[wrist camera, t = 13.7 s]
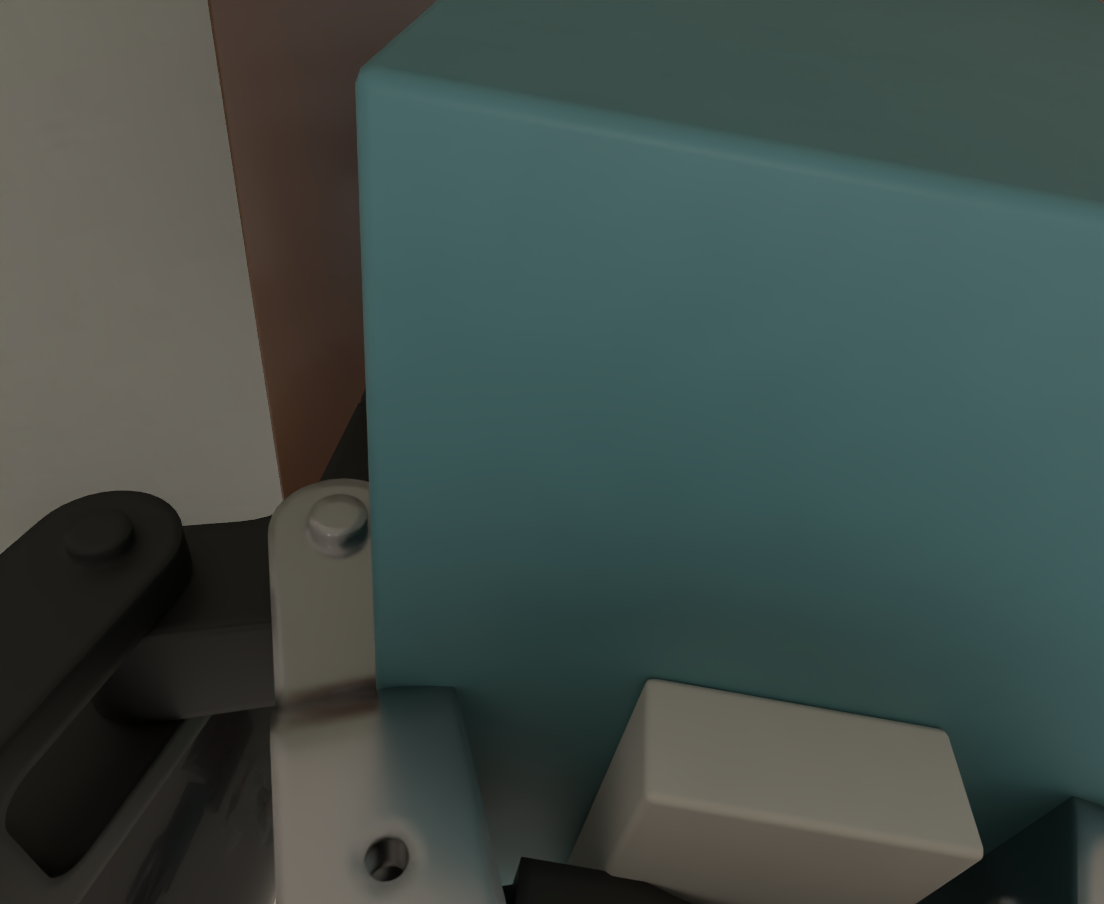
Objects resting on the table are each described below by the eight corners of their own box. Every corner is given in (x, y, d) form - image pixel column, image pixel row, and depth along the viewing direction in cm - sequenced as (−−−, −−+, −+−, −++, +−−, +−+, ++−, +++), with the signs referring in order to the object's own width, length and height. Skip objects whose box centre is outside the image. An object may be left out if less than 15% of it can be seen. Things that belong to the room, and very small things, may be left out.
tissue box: (483, 537, 15) (365, 1027, 9) (562, -116, 8) (250, 150, 2) (744, 583, 15) (800, 1101, 9) (1056, -20, 8) (2308, 533, 2)
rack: (369, 347, 22) (227, 616, 15) (349, -303, 13) (-56, -451, 6) (849, 432, 23) (945, 740, 15) (1164, -145, 13) (1817, -86, 6)
